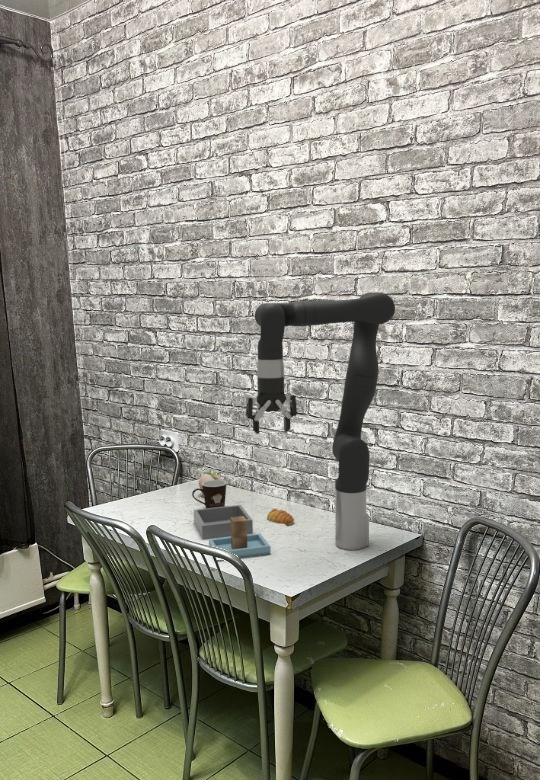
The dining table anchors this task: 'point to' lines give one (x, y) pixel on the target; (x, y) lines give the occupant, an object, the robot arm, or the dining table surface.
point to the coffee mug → (213, 493)
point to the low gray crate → (219, 521)
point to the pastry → (280, 517)
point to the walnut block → (238, 532)
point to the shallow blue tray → (254, 548)
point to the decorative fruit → (208, 478)
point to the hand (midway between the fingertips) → (271, 432)
